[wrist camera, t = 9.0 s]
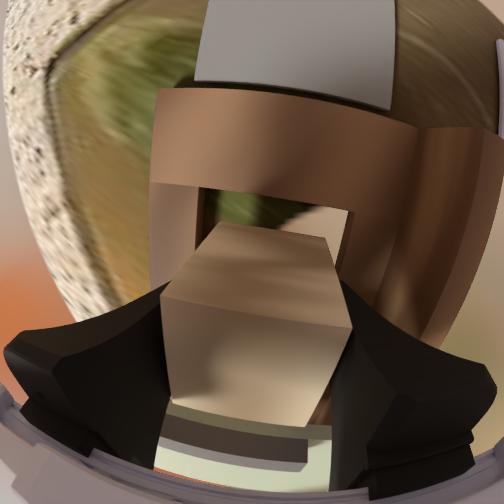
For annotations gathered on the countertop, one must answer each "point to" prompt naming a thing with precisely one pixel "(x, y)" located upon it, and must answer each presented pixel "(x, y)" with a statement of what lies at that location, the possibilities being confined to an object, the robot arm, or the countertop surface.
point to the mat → (302, 47)
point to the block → (254, 325)
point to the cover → (244, 451)
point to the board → (334, 193)
